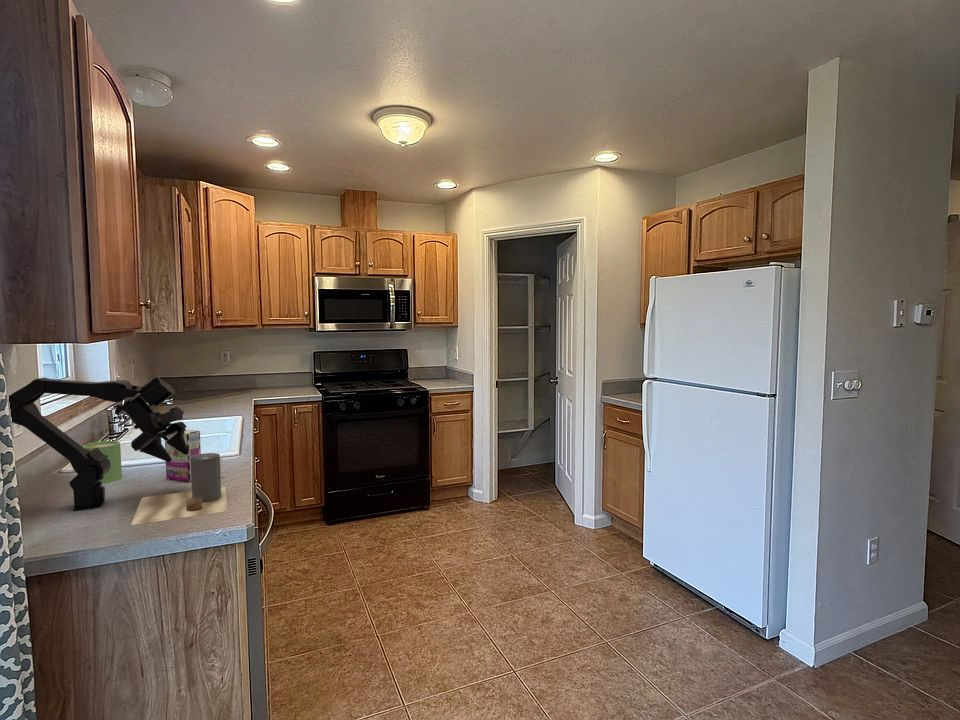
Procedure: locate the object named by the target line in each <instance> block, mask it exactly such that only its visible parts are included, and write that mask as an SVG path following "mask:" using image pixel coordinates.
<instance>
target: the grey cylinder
mask: <svg viewBox="0 0 960 720" xmlns="http://www.w3.org/2000/svg"><path fill="white" fill-rule="evenodd" d="M220 457H221V456H220V453H217V452H215V453H214V452H208V453H206V452H205V453H201V454H198V455H195V456H192V457H191V480H192V482H191V491H192V498H202V503H206V502H212V501H216V500H218V499H220V498H221V487H222V485H221V484H222V482H221V480H222V479H221V478H220Z"/></svg>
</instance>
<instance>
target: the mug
mask: <svg viewBox="0 0 960 720" xmlns="http://www.w3.org/2000/svg"><path fill="white" fill-rule="evenodd" d="M82 447H83V448H85V449H87V450H90V451H91V450H93V449H95V448H98V449H99V450H100V451H101V452H102V453H103V454H104V455H107V456H108V457H107V459H109V461H110V462H111V467H110V470H109V471H108V473H106V474H105V475H104V477H103V479H102V480H100V481H102V485H104V484H109V483H113V482H117V481H119V480H121V479H122V478H123V472H122V471H123V470H122V451H121V449H122V447H121V442H120V441H118V440H105V441H104V440H103V441H95V442H90V443H87V444H86V443H85V444H83V445H82ZM100 481H99V482H100ZM103 483H104V484H103Z"/></svg>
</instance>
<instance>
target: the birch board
mask: <svg viewBox="0 0 960 720" xmlns="http://www.w3.org/2000/svg"><path fill="white" fill-rule="evenodd" d="M226 491H227V490H226V486H221V498H220V499H218V500H216V501H212V502H206V503H202V509H200V510H197V511H187V509H186V500H188V499H191V498H192V490H190V491H182V492H175V493H165V494H159V495H152V496H149V495H148V496H144V497H141V499H140V501H139V504H138V506H137V509H136V511H135V512H134V513H135V514H134V516H133V519H132V521H131V523H130V526H136V525H142V524H143V525H144V524H149V523H156V522H163V521H169V520H177V519H183V518H188V517H189V518H190V517H197V516H204V515H205V516H206V515H210V514H211V515H212V514H217V513H223V512H228V503H227V501H228V500H227V492H226Z"/></svg>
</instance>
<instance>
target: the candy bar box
mask: <svg viewBox="0 0 960 720" xmlns="http://www.w3.org/2000/svg"><path fill="white" fill-rule="evenodd" d="M183 437H184V440H185V443H186V446H187V448H188V451H189V454H187V455H185V454H183V453H181V452H180V451H178V450H177V449H175V448H173V447H172V446H170V445H169V444H167V443H166V442H167V441H166V440H164V448H165V450H166V451H167V452H168V454H169V455H170V457H171V459H172V461H170V462H166V461H165V475H166V478H165V479H166V480H168V479H169V481H175V480H176V481H175V482H182V481H183V482H184V483H189V482H190V483H192V480H191V457H192V456H195V455H198V454H202V453H201V452H202V451H201V431H200V430H194V429H193V430H192V429H186V430H185V432H184V435H183Z"/></svg>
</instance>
